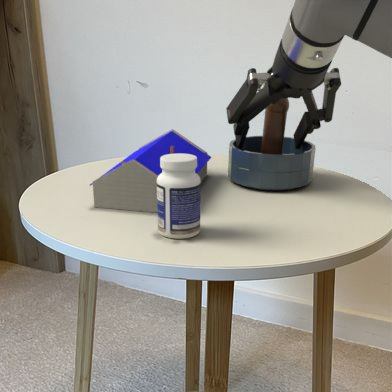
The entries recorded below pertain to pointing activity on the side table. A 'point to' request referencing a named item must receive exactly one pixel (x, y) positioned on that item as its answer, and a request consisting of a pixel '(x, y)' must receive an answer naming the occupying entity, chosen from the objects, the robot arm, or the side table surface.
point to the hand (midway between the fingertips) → (267, 142)
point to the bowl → (271, 165)
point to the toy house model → (143, 174)
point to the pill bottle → (178, 196)
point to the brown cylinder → (274, 127)
